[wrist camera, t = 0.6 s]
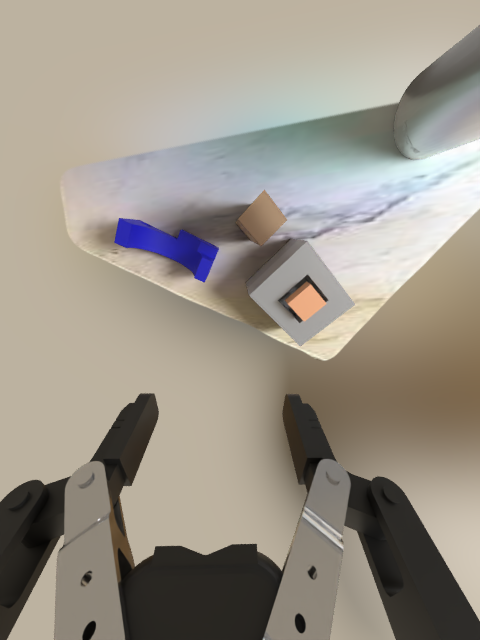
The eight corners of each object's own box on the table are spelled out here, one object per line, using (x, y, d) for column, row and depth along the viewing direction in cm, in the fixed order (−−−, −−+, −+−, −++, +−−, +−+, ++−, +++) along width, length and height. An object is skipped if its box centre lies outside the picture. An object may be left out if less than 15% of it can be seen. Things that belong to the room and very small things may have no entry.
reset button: (302, 278, 28) (310, 284, 25) (316, 296, 29) (326, 303, 26) (281, 296, 29) (287, 304, 26) (296, 312, 30) (304, 321, 27)
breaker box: (291, 238, 30) (307, 241, 24) (332, 290, 34) (355, 304, 28) (245, 282, 33) (249, 295, 27) (288, 326, 37) (300, 346, 31)
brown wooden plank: (252, 203, 28) (264, 189, 18) (267, 223, 29) (287, 219, 19) (235, 222, 29) (237, 219, 19) (250, 240, 30) (261, 246, 20)
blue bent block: (219, 247, 30) (217, 251, 25) (208, 273, 32) (204, 282, 27) (142, 209, 28) (121, 205, 22) (135, 240, 29) (114, 242, 24)
